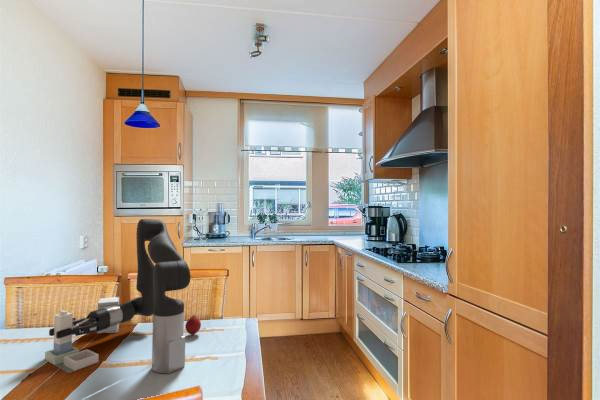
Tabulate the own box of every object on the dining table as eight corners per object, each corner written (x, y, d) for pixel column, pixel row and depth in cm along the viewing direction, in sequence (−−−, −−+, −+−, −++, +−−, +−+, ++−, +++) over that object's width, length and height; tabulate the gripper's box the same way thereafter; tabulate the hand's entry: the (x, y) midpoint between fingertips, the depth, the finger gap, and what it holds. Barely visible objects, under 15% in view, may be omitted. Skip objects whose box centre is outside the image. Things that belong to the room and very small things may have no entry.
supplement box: (98, 329, 137) (99, 298, 137) (119, 326, 140) (119, 296, 140) (96, 335, 130) (97, 303, 130) (117, 332, 133) (118, 301, 134)
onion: (195, 338, 128) (196, 317, 129) (182, 337, 129) (182, 316, 130) (203, 333, 134) (203, 313, 134) (190, 331, 135) (190, 312, 135)
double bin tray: (99, 363, 107) (99, 354, 107) (68, 375, 99) (68, 365, 99) (73, 351, 116) (74, 342, 116) (44, 361, 108) (44, 351, 108)
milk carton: (71, 352, 110) (72, 310, 110) (59, 357, 107) (60, 313, 107) (65, 350, 112) (66, 308, 112) (53, 354, 109) (54, 311, 109)
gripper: (93, 305, 125) (41, 318, 110) (117, 311, 119) (66, 326, 104) (93, 325, 125) (41, 341, 110) (117, 332, 119) (65, 350, 104)
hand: (53, 334), depth 107 cm, fingers closed on milk carton, 3 cm apart
